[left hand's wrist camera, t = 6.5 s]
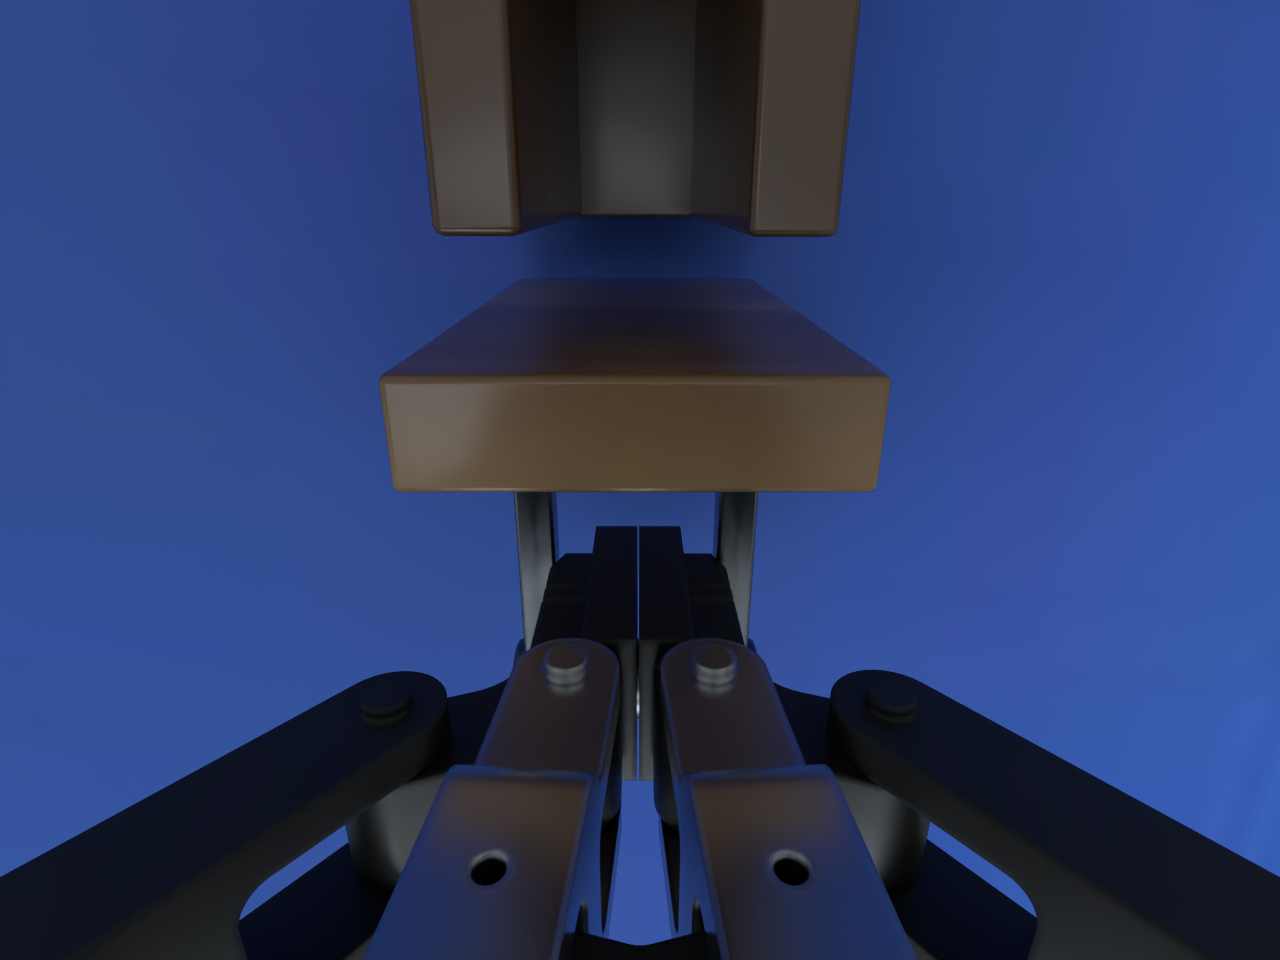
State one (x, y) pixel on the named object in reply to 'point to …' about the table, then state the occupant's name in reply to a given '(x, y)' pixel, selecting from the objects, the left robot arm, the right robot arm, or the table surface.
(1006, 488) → the table surface
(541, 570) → the drawer
